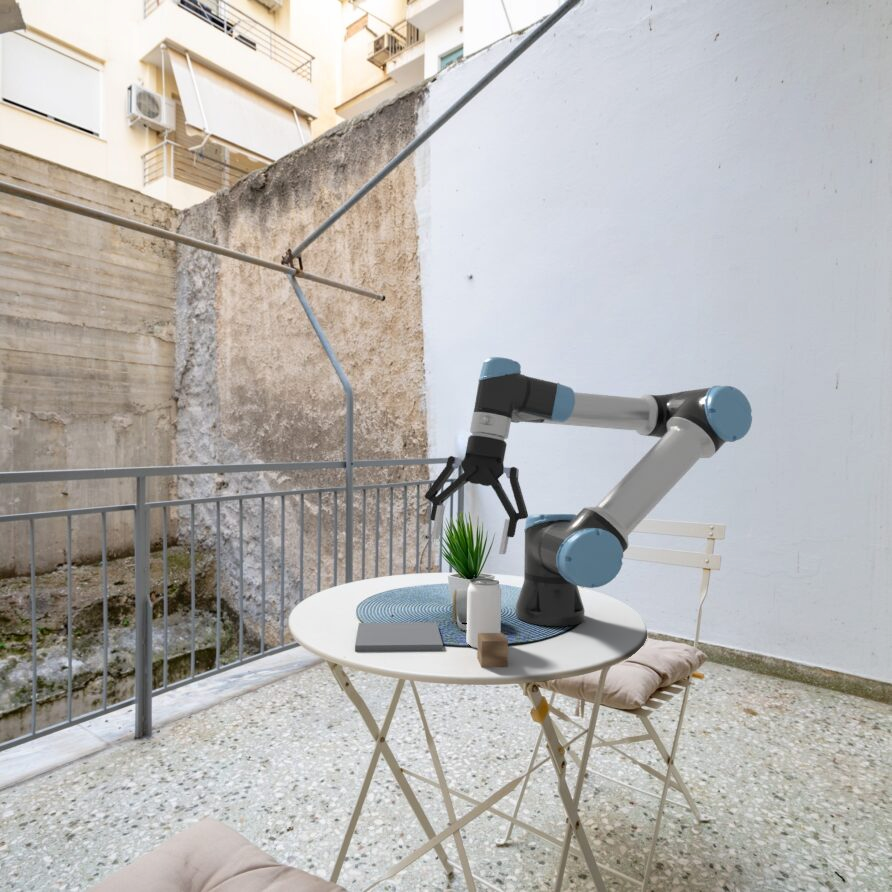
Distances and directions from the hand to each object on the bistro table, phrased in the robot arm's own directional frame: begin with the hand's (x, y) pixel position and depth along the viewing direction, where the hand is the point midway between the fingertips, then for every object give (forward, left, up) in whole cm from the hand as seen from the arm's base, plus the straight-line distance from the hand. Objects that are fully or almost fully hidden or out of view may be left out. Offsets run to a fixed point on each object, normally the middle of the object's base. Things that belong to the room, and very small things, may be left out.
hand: (468, 546), depth 112 cm
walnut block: (-3, +11, -19) cm, 22 cm away
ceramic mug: (-3, -11, -19) cm, 22 cm away
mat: (+13, -3, -18) cm, 23 cm away
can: (-3, +1, -19) cm, 19 cm away
